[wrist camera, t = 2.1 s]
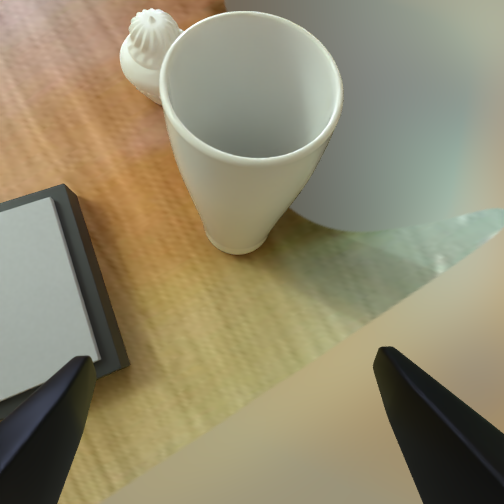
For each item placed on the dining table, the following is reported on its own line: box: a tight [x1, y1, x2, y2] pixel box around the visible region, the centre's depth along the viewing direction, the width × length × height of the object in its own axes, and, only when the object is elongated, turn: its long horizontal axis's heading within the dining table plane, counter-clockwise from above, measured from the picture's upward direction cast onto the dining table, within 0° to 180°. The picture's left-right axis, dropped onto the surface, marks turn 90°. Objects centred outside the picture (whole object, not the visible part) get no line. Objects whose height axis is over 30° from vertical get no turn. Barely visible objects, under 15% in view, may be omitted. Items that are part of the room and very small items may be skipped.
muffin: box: [120, 8, 184, 105], centre depth 25 cm, size 6×6×7 cm
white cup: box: [159, 11, 344, 255], centre depth 18 cm, size 7×7×15 cm
